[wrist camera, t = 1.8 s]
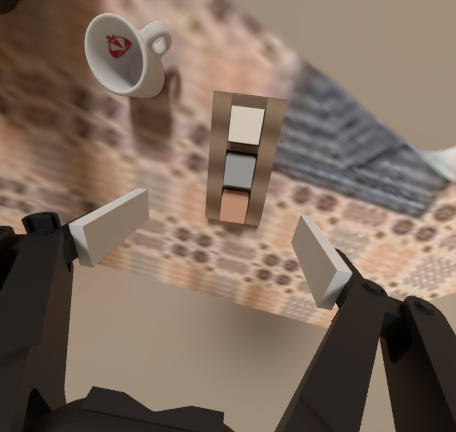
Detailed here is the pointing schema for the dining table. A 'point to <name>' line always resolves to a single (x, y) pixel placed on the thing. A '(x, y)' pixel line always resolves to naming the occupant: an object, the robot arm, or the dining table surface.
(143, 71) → the cup
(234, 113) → the cream key
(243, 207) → the terracotta key
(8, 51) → the dining table surface
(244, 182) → the slate key
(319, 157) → the dining table surface
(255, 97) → the key block
